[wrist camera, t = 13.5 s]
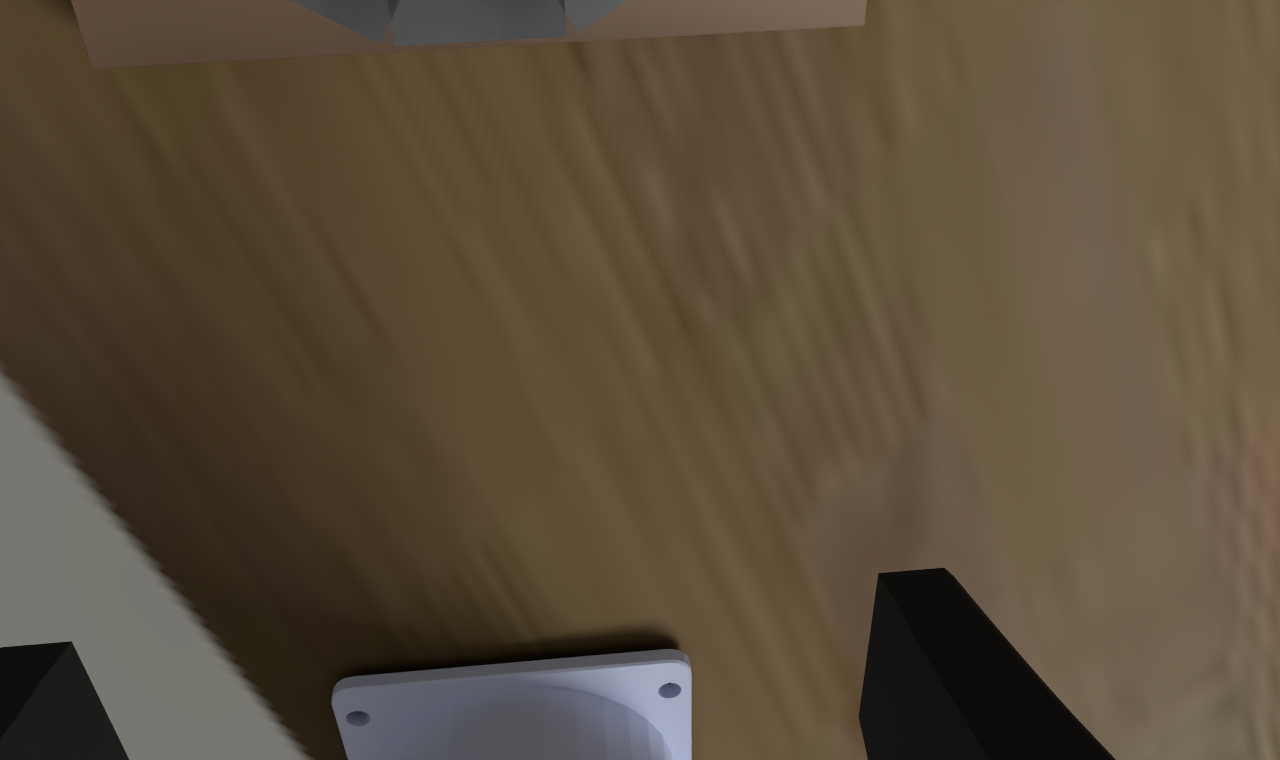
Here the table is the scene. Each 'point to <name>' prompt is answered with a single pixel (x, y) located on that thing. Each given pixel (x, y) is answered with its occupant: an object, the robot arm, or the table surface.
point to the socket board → (413, 25)
